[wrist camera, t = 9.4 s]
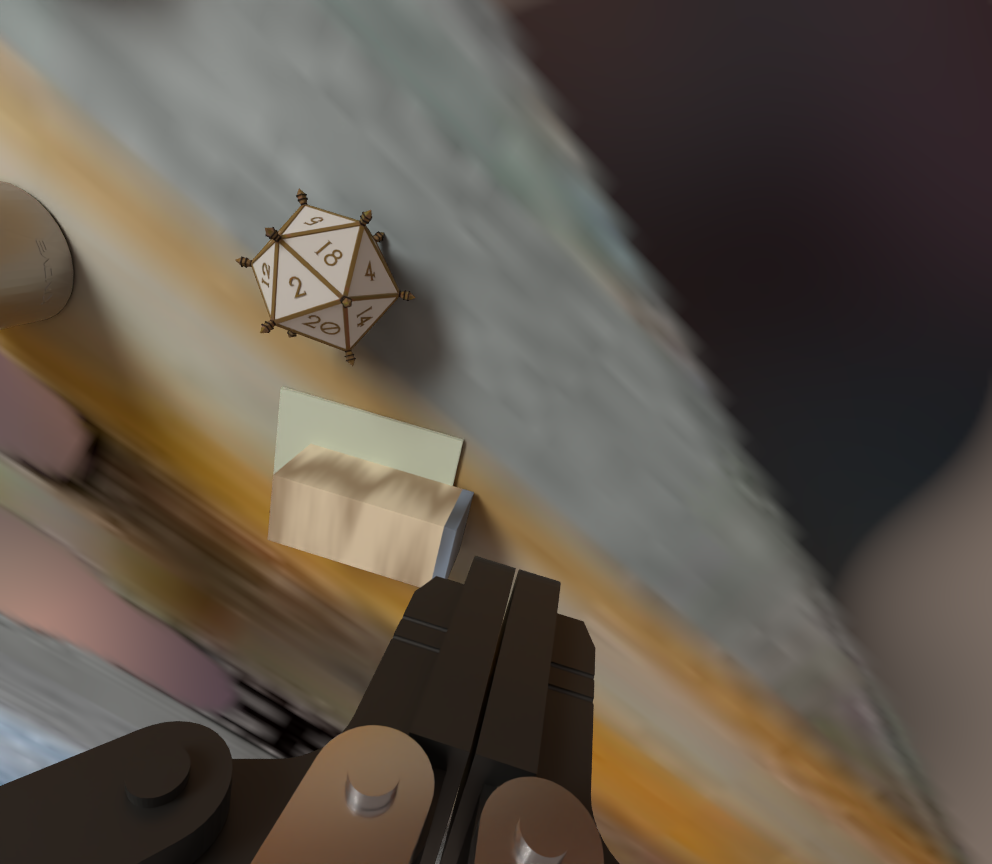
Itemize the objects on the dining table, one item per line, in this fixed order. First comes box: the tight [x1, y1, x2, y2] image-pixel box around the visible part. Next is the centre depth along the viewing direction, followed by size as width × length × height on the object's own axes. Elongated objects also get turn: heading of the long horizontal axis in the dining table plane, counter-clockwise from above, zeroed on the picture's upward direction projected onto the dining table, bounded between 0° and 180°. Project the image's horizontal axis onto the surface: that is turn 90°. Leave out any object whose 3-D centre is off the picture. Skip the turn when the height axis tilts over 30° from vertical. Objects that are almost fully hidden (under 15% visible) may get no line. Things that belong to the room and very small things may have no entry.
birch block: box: [268, 444, 474, 587], centre depth 39 cm, size 5×5×12 cm
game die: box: [236, 189, 415, 366], centre depth 32 cm, size 9×8×10 cm
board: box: [274, 387, 464, 486], centre depth 42 cm, size 13×12×1 cm
